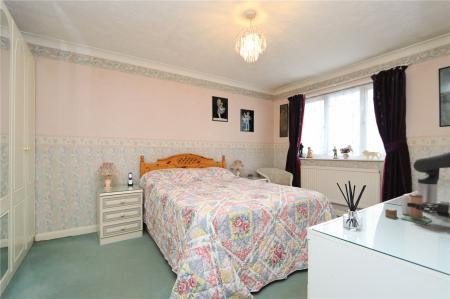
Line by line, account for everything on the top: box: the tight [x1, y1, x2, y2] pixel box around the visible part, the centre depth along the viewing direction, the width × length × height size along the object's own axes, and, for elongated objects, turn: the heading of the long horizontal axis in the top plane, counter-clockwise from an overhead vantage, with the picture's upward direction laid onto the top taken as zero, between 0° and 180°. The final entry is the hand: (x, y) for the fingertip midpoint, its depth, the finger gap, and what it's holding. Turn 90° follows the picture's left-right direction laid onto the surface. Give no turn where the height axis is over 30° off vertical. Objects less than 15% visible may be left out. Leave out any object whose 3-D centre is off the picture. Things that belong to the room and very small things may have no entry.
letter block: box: [384, 208, 398, 219], centre depth 126 cm, size 4×4×4 cm
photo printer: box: [401, 193, 410, 216], centre depth 131 cm, size 10×4×12 cm, turn 84°
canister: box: [408, 193, 424, 219], centre depth 120 cm, size 6×6×12 cm
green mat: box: [400, 215, 433, 225], centre depth 119 cm, size 10×10×1 cm
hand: (410, 203), depth 122 cm, fingers closed on canister, 5 cm apart
